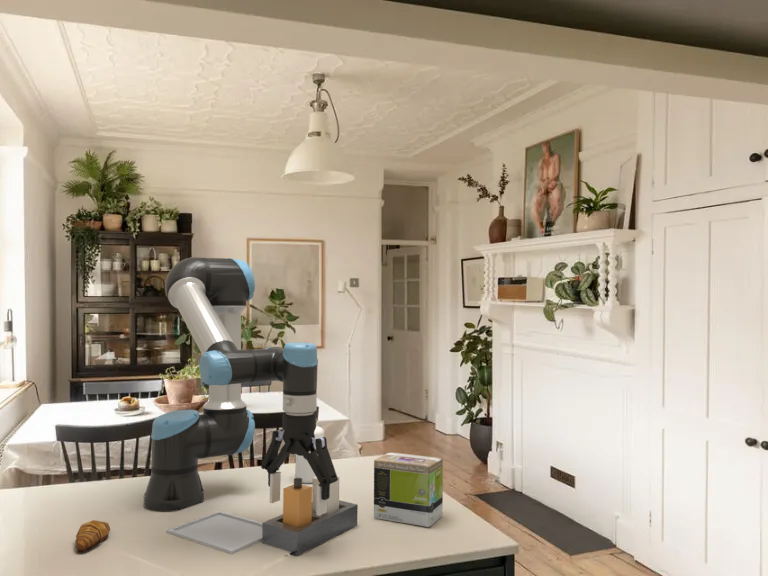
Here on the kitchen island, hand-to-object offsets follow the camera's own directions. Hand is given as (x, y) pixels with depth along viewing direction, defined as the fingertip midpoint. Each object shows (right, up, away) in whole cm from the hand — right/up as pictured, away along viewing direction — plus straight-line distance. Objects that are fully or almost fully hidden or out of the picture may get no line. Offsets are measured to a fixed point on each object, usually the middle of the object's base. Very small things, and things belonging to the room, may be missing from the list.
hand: (297, 507), depth 143 cm
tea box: (+25, -8, +17) cm, 31 cm away
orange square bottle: (0, -5, 0) cm, 6 cm away
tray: (-17, -7, +4) cm, 19 cm away
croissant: (-45, -7, -2) cm, 46 cm away
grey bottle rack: (+3, -8, +4) cm, 9 cm away
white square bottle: (+5, -6, +8) cm, 11 cm away
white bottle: (-3, -8, +47) cm, 48 cm away
